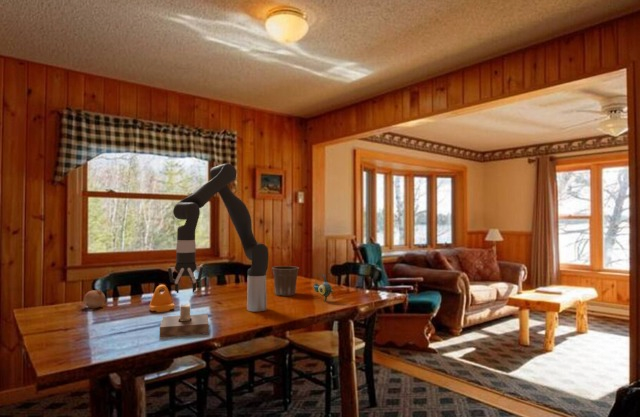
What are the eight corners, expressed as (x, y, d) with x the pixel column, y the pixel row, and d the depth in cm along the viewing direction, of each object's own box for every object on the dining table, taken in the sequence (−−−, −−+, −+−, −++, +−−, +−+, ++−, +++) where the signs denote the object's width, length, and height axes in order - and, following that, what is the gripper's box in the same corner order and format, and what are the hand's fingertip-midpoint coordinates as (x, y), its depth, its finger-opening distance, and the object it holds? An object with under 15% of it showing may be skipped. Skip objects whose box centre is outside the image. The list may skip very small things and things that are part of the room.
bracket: (151, 312, 189) (151, 287, 189) (149, 309, 195) (149, 285, 196) (174, 310, 194) (175, 286, 195) (172, 307, 201) (172, 283, 201)
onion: (102, 313, 200) (112, 295, 201) (85, 311, 192) (96, 293, 193) (93, 304, 205) (102, 286, 206) (76, 302, 197) (86, 284, 197)
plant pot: (288, 290, 247) (288, 265, 247) (304, 294, 235) (304, 267, 235) (266, 293, 237) (266, 267, 237) (281, 298, 224) (281, 270, 225)
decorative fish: (319, 305, 215) (327, 304, 219) (329, 291, 209) (337, 290, 213) (308, 286, 223) (317, 285, 226) (318, 272, 216) (326, 271, 220)
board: (207, 323, 172) (207, 314, 172) (208, 333, 156) (208, 323, 156) (163, 326, 166) (163, 316, 166) (159, 337, 151) (159, 327, 151)
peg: (190, 328, 164) (190, 304, 164) (189, 330, 160) (190, 306, 160) (180, 329, 162) (180, 304, 163) (180, 331, 159) (180, 306, 159)
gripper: (204, 249, 168) (203, 289, 167) (168, 250, 163) (167, 291, 163) (204, 251, 160) (203, 293, 160) (166, 252, 156) (166, 295, 156)
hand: (185, 292), depth 162 cm, fingers open, 5 cm apart
